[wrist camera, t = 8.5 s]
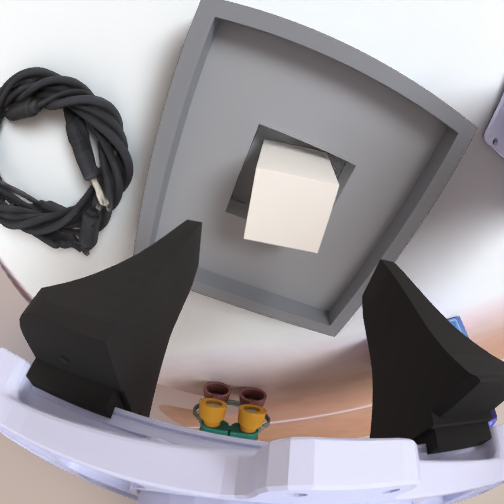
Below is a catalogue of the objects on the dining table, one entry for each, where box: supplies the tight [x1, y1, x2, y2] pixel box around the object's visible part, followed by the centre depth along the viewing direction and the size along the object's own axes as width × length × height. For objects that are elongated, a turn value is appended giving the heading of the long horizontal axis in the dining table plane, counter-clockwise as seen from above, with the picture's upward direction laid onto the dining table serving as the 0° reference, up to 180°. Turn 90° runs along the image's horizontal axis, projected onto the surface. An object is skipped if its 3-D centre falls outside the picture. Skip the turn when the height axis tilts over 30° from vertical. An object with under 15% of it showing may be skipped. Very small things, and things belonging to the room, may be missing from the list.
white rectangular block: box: [244, 139, 339, 253], centre depth 18 cm, size 4×4×6 cm
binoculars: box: [193, 382, 270, 440], centre depth 33 cm, size 9×9×10 cm
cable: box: [0, 67, 133, 256], centre depth 18 cm, size 17×14×4 cm
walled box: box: [133, 0, 477, 337], centre depth 18 cm, size 16×18×4 cm
